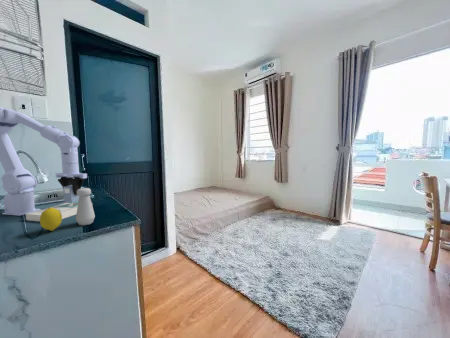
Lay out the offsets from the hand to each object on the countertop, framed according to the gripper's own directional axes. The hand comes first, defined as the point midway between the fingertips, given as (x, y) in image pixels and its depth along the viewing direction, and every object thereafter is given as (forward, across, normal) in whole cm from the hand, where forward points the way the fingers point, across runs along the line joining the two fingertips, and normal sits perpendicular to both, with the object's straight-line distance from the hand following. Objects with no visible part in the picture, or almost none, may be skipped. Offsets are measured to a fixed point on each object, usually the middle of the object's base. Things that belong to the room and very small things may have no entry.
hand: (72, 194), depth 88 cm
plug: (+3, 0, 0) cm, 3 cm away
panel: (+7, 0, -5) cm, 9 cm away
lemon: (+8, +14, -20) cm, 26 cm away
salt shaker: (+8, +19, -12) cm, 24 cm away
